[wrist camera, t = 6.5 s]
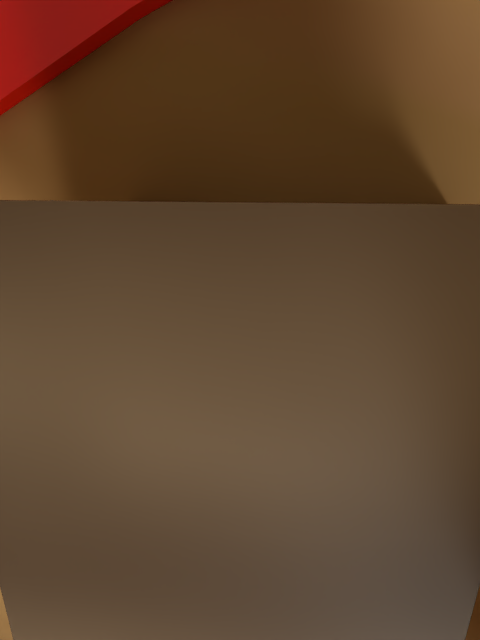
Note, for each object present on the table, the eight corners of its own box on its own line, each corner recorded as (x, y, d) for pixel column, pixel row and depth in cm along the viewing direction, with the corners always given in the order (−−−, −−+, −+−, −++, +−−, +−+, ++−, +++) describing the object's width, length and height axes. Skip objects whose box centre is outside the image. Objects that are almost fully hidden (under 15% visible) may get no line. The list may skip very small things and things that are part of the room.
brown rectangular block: (360, 580, 10) (398, 888, 6) (156, 544, 11) (47, 781, 7) (412, 203, 7) (582, 204, 3) (130, 201, 8) (-94, 200, 4)
